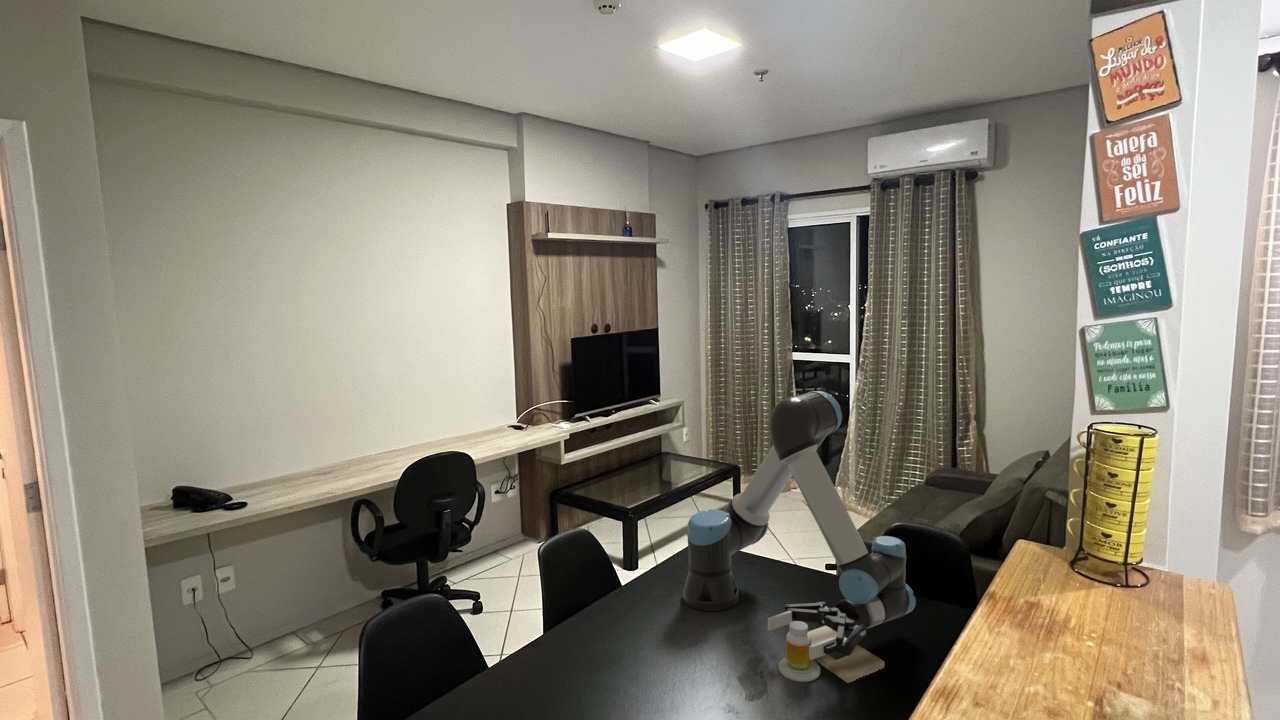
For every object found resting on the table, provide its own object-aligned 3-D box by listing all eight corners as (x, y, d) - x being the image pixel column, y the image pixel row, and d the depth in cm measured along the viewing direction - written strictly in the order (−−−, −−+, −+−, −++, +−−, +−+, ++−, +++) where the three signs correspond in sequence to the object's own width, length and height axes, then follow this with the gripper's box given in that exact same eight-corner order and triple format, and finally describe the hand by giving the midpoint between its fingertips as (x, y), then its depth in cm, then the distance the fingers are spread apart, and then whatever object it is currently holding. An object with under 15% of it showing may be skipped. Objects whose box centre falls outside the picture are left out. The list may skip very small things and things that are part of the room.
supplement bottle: (812, 674, 140) (812, 632, 139) (787, 672, 141) (786, 630, 140) (810, 661, 145) (810, 619, 144) (786, 659, 146) (785, 618, 145)
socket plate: (791, 643, 153) (791, 637, 153) (825, 631, 158) (825, 625, 158) (847, 683, 137) (847, 676, 137) (884, 667, 142) (884, 661, 142)
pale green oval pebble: (770, 665, 145) (770, 663, 144) (800, 654, 149) (800, 651, 149) (797, 686, 137) (797, 684, 137) (829, 673, 141) (829, 671, 141)
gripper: (903, 653, 139) (829, 684, 130) (821, 605, 162) (753, 628, 152) (903, 620, 139) (829, 649, 129) (821, 577, 161) (753, 598, 151)
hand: (788, 638), depth 140 cm, fingers open, 13 cm apart
